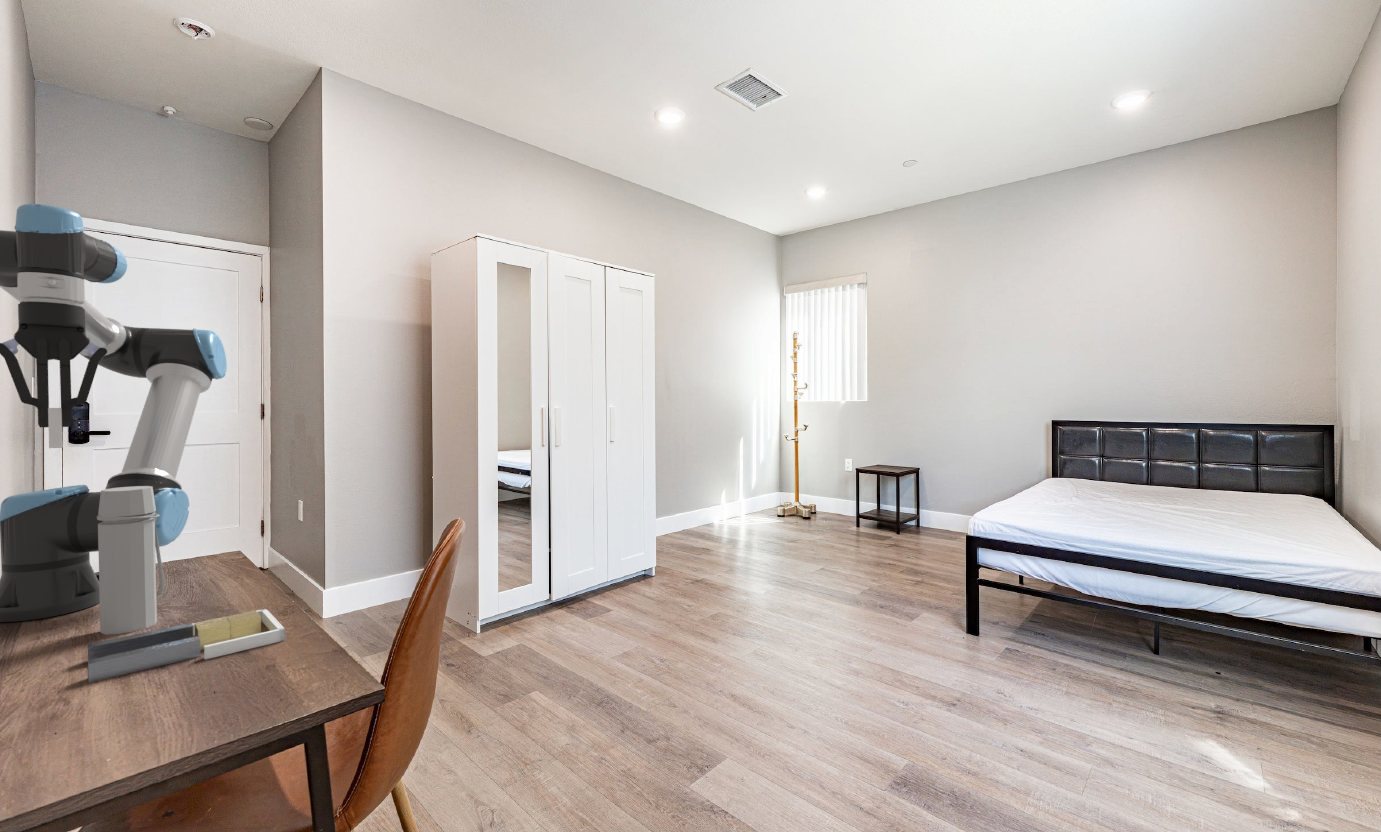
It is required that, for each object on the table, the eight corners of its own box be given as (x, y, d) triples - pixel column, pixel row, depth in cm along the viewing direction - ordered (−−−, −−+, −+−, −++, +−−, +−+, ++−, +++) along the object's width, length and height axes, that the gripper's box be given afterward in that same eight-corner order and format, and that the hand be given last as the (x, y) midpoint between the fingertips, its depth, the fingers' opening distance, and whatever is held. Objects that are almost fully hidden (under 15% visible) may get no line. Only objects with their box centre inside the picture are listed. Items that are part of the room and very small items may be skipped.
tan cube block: (195, 648, 96) (194, 623, 96) (226, 641, 99) (226, 616, 99) (198, 655, 93) (197, 629, 93) (230, 647, 96) (230, 623, 96)
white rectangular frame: (192, 641, 100) (192, 623, 100) (266, 625, 107) (266, 608, 107) (205, 667, 90) (204, 647, 90) (285, 647, 97) (285, 628, 97)
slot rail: (87, 668, 90) (87, 644, 90) (191, 645, 98) (191, 622, 98) (89, 690, 83) (88, 664, 83) (200, 663, 91) (200, 639, 91)
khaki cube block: (226, 640, 99) (226, 616, 99) (256, 634, 102) (255, 610, 102) (231, 647, 96) (230, 622, 96) (261, 640, 99) (260, 616, 99)
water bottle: (123, 643, 99) (120, 492, 99) (86, 639, 101) (83, 491, 100) (181, 623, 108) (178, 484, 108) (146, 620, 110) (143, 483, 109)
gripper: (-12, 295, 91) (-7, 451, 92) (108, 305, 100) (111, 446, 101) (-7, 301, 96) (-3, 448, 97) (106, 310, 106) (110, 444, 106)
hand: (55, 447), depth 99 cm, fingers closed
